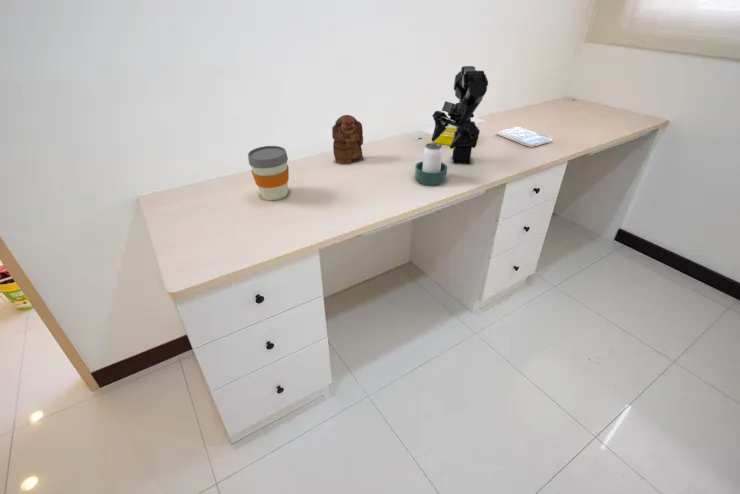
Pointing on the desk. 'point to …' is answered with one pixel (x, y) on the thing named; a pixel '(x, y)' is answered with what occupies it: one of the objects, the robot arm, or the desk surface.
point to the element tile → (446, 135)
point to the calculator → (524, 136)
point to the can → (432, 158)
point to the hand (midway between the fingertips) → (441, 144)
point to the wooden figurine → (347, 140)
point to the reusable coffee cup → (270, 171)
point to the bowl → (430, 175)
